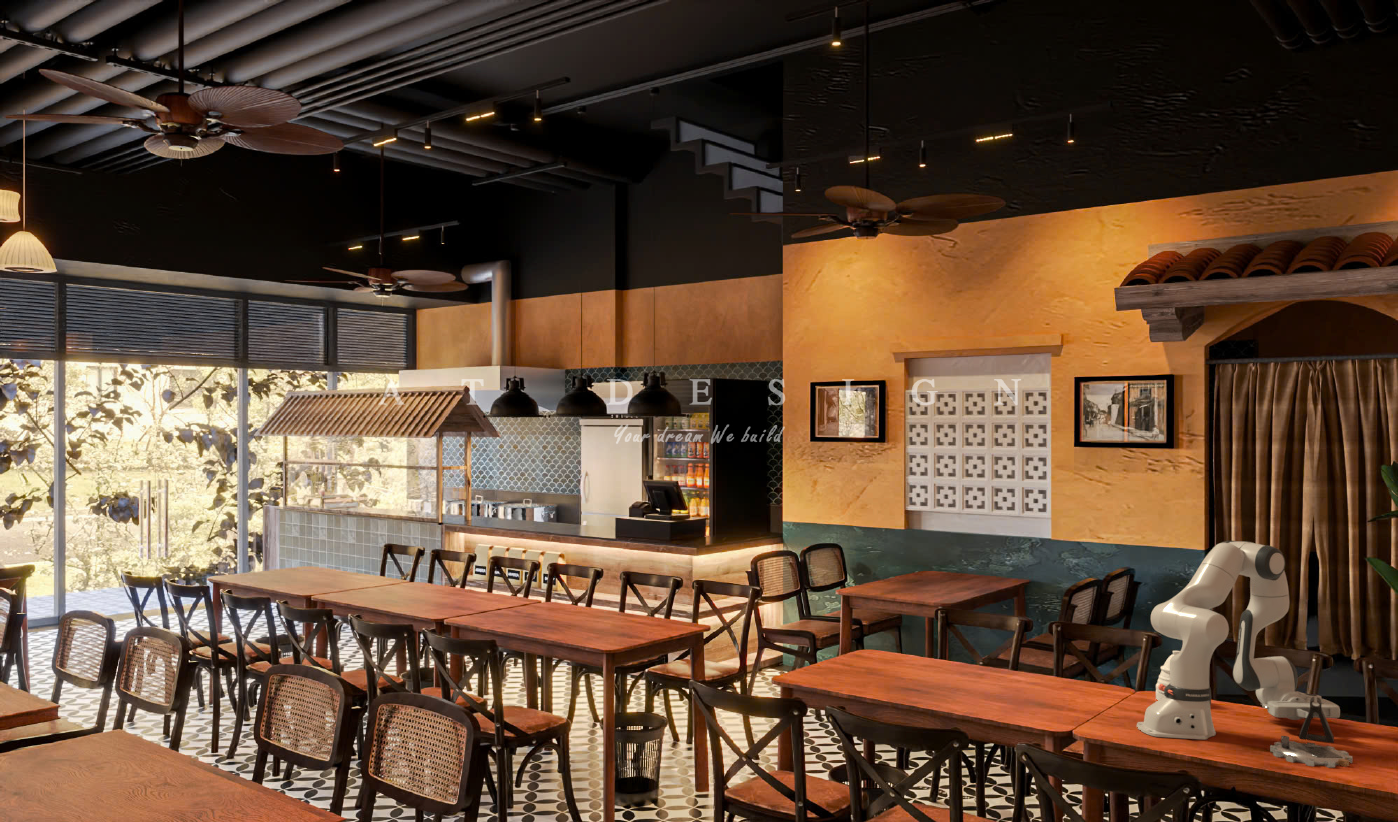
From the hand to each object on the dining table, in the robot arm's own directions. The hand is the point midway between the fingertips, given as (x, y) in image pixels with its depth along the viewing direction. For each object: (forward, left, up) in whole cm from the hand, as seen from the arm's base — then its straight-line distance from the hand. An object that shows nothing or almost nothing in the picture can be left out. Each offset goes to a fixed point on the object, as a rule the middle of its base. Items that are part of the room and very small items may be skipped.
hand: (1317, 716), depth 311 cm
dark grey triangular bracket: (-1, -1, -7) cm, 7 cm away
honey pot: (-24, +43, -7) cm, 50 cm away
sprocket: (-13, -20, -6) cm, 25 cm away
